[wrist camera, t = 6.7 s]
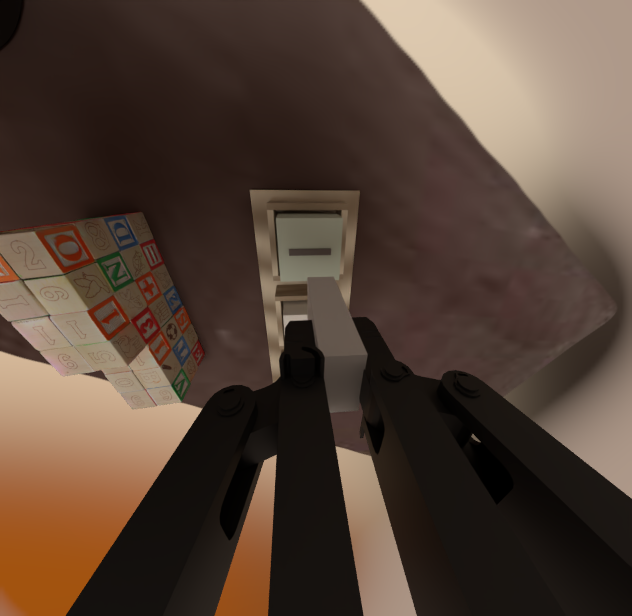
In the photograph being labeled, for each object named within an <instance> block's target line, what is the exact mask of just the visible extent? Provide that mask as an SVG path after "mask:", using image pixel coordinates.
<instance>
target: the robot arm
mask: <svg viewBox="0 0 632 616" xmlns="http://www.w3.org/2000/svg"><path fill="white" fill-rule="evenodd" d="M20 10H21V0H0V47H2V46H3V45H4V44H5V43H6V42H7V41H8V39H9V38H10V37H11V35H12V33H13V32H14V30H15V27H16V25H17V22H18V19H19V14H20ZM307 318H308V320H298V321H289V323H288V324H287V326H286V327H285V339H284V351H283V352H282V353H281V355H280V358H279V367H280V377H279V378H278V379H277V380H276V381H275V382H274V383H273V384H271V385H269V386H267V387H265V388H262V389H259V390H256V391H252V390H251V389H250V388H249V387H246V386H242V385H232V386H229V387H226V388H223V389H221V390H220V391H218V392H217V393H215V394H214V395H213V396H212V397H211V398H210V399H209V400H208V402H207V403H206V405H205V406H204V408H203V409H202V411H201V412H200V414H199V415H198V417H197V418H196V420H195V421H194V423H193V424H192V426H191V428H190V429H189V430H188V432H187V433H186V435H185V437H184V438H183V440H182V441H181V442H180V444H179V446H178V447H177V449H176V450H175V452H174V453H173V455H172V456H171V458H170V459H169V461H168V462H167V464H166V465H165V467H164V468H163V470H162V471H161V473H160V474H159V476H158V477H157V479H156V480H155V482H154V483H153V485H152V486H151V488H150V489H149V491H148V492H147V494H146V495H145V497H144V498H143V500H142V501H141V503H140V504H139V506H138V507H137V509H136V510H135V512H134V513H133V515H132V516H131V518H130V519H129V521H128V522H127V524H126V525H125V527H124V528H123V530H122V532H121V533H120V535H119V536H118V538H117V539H116V541H115V542H114V544H113V545H112V547H111V548H110V550H109V551H108V553H107V554H106V556H105V557H104V559H103V560H102V562H101V563H100V565H99V566H98V568H97V569H96V571H95V572H94V574H93V575H92V577H91V579H90V580H89V581H88V583H87V584H86V586H85V587H84V589H83V590H82V592H81V593H80V595H79V596H78V598H77V599H76V601H75V602H74V604H73V606H72V607H71V608H70V610H69V611H68V613H67V614H66V616H214V615H215V612H216V609H217V606H218V603H219V600H220V597H221V593H222V590H223V587H224V584H225V581H226V578H227V575H228V571H229V568H230V565H231V562H232V559H233V556H234V553H235V549H236V546H237V543H238V540H239V537H240V534H241V531H242V527H243V525H244V521H245V518H246V515H247V512H248V509H249V506H250V503H251V500H252V496H253V493H254V490H255V487H256V484H257V481H258V478H259V475H260V471H261V468H262V465H263V462H264V460H266V459H268V458H270V457H272V456H274V455H277V459H276V480H275V497H274V498H275V499H274V515H273V535H272V553H271V571H270V590H269V609H268V616H363V610H362V604H361V598H360V592H359V586H358V580H357V574H356V568H355V562H354V556H353V550H352V544H351V537H350V531H349V525H348V519H347V513H346V507H345V501H344V495H343V490H342V484H341V477H340V471H339V466H338V459H337V453H336V447H335V441H334V435H333V429H332V423H331V417H330V413H332V412H345V411H358V409H359V403H361V406H362V410H363V417H362V422H361V427H360V438H363V436H364V432H365V436H366V439H367V443H368V446H369V450H370V453H371V457H372V460H373V463H374V467H375V471H376V474H377V478H378V481H379V485H380V488H381V491H382V495H383V499H384V502H385V505H386V509H387V512H388V516H389V520H390V523H391V527H392V530H393V534H394V537H395V540H396V544H397V547H398V551H399V554H400V558H401V561H402V565H403V568H404V572H405V575H406V579H407V582H408V586H409V589H410V593H411V596H412V600H413V603H414V607H415V610H416V614H417V616H632V499H631V498H630V497H629V496H627V495H626V494H625V493H624V492H622V491H621V490H620V489H618V488H617V487H616V486H615V485H613V484H612V483H611V482H610V481H608V480H607V479H606V478H605V477H603V476H602V475H601V474H599V473H598V472H597V471H596V470H594V469H593V468H592V467H590V466H589V465H588V464H587V463H586V462H584V461H583V460H582V459H580V458H579V457H578V456H577V455H575V454H574V453H573V452H571V451H570V450H569V449H568V448H567V447H565V446H564V445H562V444H561V443H560V442H559V441H558V440H556V439H555V438H554V437H553V436H551V435H550V434H549V433H547V432H546V431H545V430H544V429H542V428H541V427H540V426H539V425H537V424H536V423H535V422H533V421H532V420H531V419H530V418H529V417H527V416H526V415H525V414H523V413H522V412H521V411H519V410H518V409H517V408H516V407H515V406H513V405H512V404H511V403H509V402H508V401H507V400H506V399H504V398H503V397H502V396H501V395H499V394H498V393H497V392H496V391H494V390H493V389H492V388H491V387H489V386H488V385H487V384H485V383H484V382H483V381H481V380H480V379H478V378H477V377H475V376H473V375H471V374H468V373H466V372H462V371H456V370H455V371H448V372H446V373H444V374H443V376H442V379H441V380H436V379H431V378H426V377H421V376H417V375H414V373H413V372H412V371H411V369H410V368H409V367H408V366H406V365H405V364H403V363H402V362H399V361H396V360H395V359H394V357H393V355H392V353H391V352H390V350H389V348H388V346H387V345H386V343H385V341H384V340H383V338H382V336H381V334H380V333H379V332H378V329H377V327H376V326H375V324H374V323H373V322H372V321H371V320H369V319H368V318H367V317H356V318H351V315H350V313H349V311H348V308H347V306H346V304H345V301H344V299H343V297H342V295H341V292H340V290H339V288H338V285H337V283H336V281H335V279H334V277H307ZM472 434H474V435H475V436H476V437H477V438H478V439H479V440H480V441H481V443H480V442H477V441H475V440H474V439H473V438H472V437H471V436H472Z"/></svg>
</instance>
